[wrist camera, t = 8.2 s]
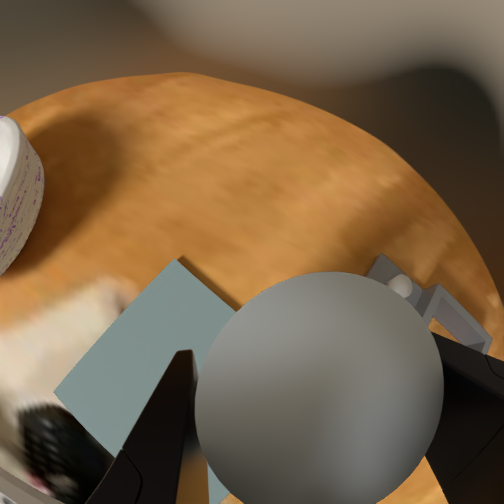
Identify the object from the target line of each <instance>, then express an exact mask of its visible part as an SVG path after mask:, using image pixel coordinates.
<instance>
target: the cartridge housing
mask: <svg viewBox="0 0 504 504" xmlns="http://www.w3.org/2000/svg"><path fill="white" fill-rule="evenodd" d="M365 277H367V278H370V279H373V280H375V281H377V282H380V283H382V284H384V285H386V286H388V287H389V288H391V289H392V290H394V291H395V292H397V293H398V294H400V295H401V296H402V297H403V298H404V299H405V300H407V301H408V302H409V303H410V304H411V305H412V306H413V307H414V309H415V310H416V311H417V312H418V313H419V314H420V316H421V317H422V319H423V320H424V321H425V323H426V324H427V326H428V325H429V323H430V321H431V319H432V317H434V318H435V319H436V320H437V321H438V322H439V323H440V324H442V325H443V326H444V327H445V328H446V329H447V330H448V331H449V332H450V333H451V334H452V335H453V336H454V337H455V338H456V339H457V340H458V341H459V342H460V343H461V344H462V345H465V346H467V347H469V348H472V349H474V350H477V351H479V352H482V353H483V354H487V353H488V350H489V348H490V345H491V342H492V339H493V338H492V337H491V336H490V335H489V334H488V333H487V332H486V331H485V329H484V328H483V327H482V326H481V325H480V324H479V323H478V322H477V321H476V320H475V319H474V318H473V317H472V316H471V315H470V313H469V312H468V311H467V310H466V309H465V308H464V307H463V306H462V305H461V304H460V303H459V302H458V301H457V300H456V299H455V298H454V297H453V296H452V295H451V294H450V293H449V292H448V291H447V290H446V289H445V288H444V287H443V286H442V285H441V284H440V283H437V284H435V285H433V286H431V287H429V288H427V289H425V290H423V289H422V288H421V287H419V286H418V285H417V284H416V283H415V282H414V281H413V280H412V279H411V278H410V277H408V276H407V275H406V274H405V273H404V272H403V271H402V270H401V269H399V268H398V267H397V266H396V265H395V264H394V263H393V262H391V261H390V260H389V259H388V258H387V257H386V256H385V255H383V254H382V253H381V254H380V255H379V256H377V258H376V260H375V261H374V263H373V264H372V266H371V268H370V269H369V271H368V272H367V274H366V275H365Z"/></svg>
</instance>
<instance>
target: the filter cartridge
mask: <svg viewBox="0 0 504 504" xmlns="http://www.w3.org/2000/svg"><path fill="white" fill-rule="evenodd" d="M443 396H444V378H443V369H442V363H441V359H440V355H439V351H438V348H437V345H436V343H435V340H434V338H433V336H432V334H431V332H430V330H429V328H428V326H427V324H426V323H425V321H424V320H423V319H422V317H421V316H420V314H419V313H418V312H417V311H416V310H415V309H414V307H413V306H412V305H411V304H410V303H409V302H408V301H407V300H405V299H404V298H403V297H402V296H401V295H400V294H398V293H397V292H395V291H394V290H392V289H391V288H389V287H388V286H386V285H384V284H382V283H380V282H377V281H375V280H373V279H370V278H367V277H364V276H361V275H357V274H351V273H345V272H317V273H309V274H305V275H301V276H296V277H293V278H290V279H288V280H285V281H282V282H279V283H277V284H275V285H274V286H272V287H270V288H268V289H266V290H264V291H262V292H261V293H260V294H258V295H257V296H255V297H254V298H252V299H251V300H249V301H248V302H247V303H246V304H245V305H244V306H243V307H242V308H240V309H239V310H238V311H237V312H236V313H235V314H234V315H233V316H232V317H231V319H230V320H229V321H228V322H227V323H226V324H225V326H224V327H223V328H222V329H221V331H220V333H219V334H218V336H217V337H216V339H215V340H214V342H213V343H212V345H211V347H210V349H209V352H208V354H207V356H206V358H205V360H204V362H203V366H202V369H201V372H200V375H199V378H198V383H197V390H196V396H195V422H196V429H197V435H198V439H199V442H200V445H201V449H202V452H203V454H204V456H205V458H206V460H207V462H208V464H209V467H210V468H211V470H212V471H213V473H214V474H215V475H216V477H217V478H218V480H219V481H220V482H221V483H222V484H223V485H224V486H225V488H226V489H227V490H228V491H229V492H230V493H231V494H233V495H234V496H235V497H236V498H238V499H239V500H240V501H242V502H243V503H244V504H376V503H377V502H379V501H381V500H382V499H384V498H385V497H386V496H388V495H389V494H390V493H392V492H393V491H394V490H395V489H397V488H398V487H399V486H400V485H401V484H402V483H403V482H404V481H405V480H406V479H407V478H408V477H409V476H410V475H411V473H412V472H413V471H414V470H415V468H416V467H417V466H418V465H419V463H420V461H421V460H422V458H423V457H424V455H425V454H426V452H427V450H428V448H429V446H430V444H431V442H432V440H433V438H434V435H435V432H436V430H437V427H438V424H439V420H440V416H441V411H442V405H443Z"/></svg>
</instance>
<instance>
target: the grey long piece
mask: <svg viewBox="0 0 504 504" xmlns="http://www.w3.org/2000/svg"><path fill="white" fill-rule="evenodd" d="M0 504H64V503H62V502H60V501H58V500H56V499H54V498H52V497H50V496H48V495H46V494H44V493H42V492H41V491H39V490H37V489H35V488H33V487H32V486H30V485H28V484H26V483H25V482H23V481H21V480H20V479H18V478H16V477H15V476H13V475H11V474H10V473H8V472H7V471H5V470H4V469H2V468H1V467H0Z"/></svg>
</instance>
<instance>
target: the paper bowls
mask: <svg viewBox="0 0 504 504" xmlns="http://www.w3.org/2000/svg"><path fill="white" fill-rule="evenodd" d="M44 182H45V181H44V169H43V166H42V163H41V160H40V158H39V156H38V155H37V153H36V151H35V150H34V148H33V147H32V146H31V144H30V143H29V141H28V139H27V138H26V136H25V134H24V132H23V130H22V129H21V127H20V125H19V124H18V122H17V121H15V120H14V119H12V118H10V117H6V116H0V276H1V275H2V274H3V273H4V272H5V271H6V269H7V268H8V267H9V266H10V264H11V263H12V262H13V261H14V259H15V258H16V257H17V255H18V254H19V253H20V251H21V250H22V248H23V246H24V244H25V243H26V240H27V239H28V236H29V234H30V232H31V231H32V229H33V227H34V224H35V222H36V219H37V216H38V213H39V211H40V208H41V203H42V199H43V193H44Z"/></svg>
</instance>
